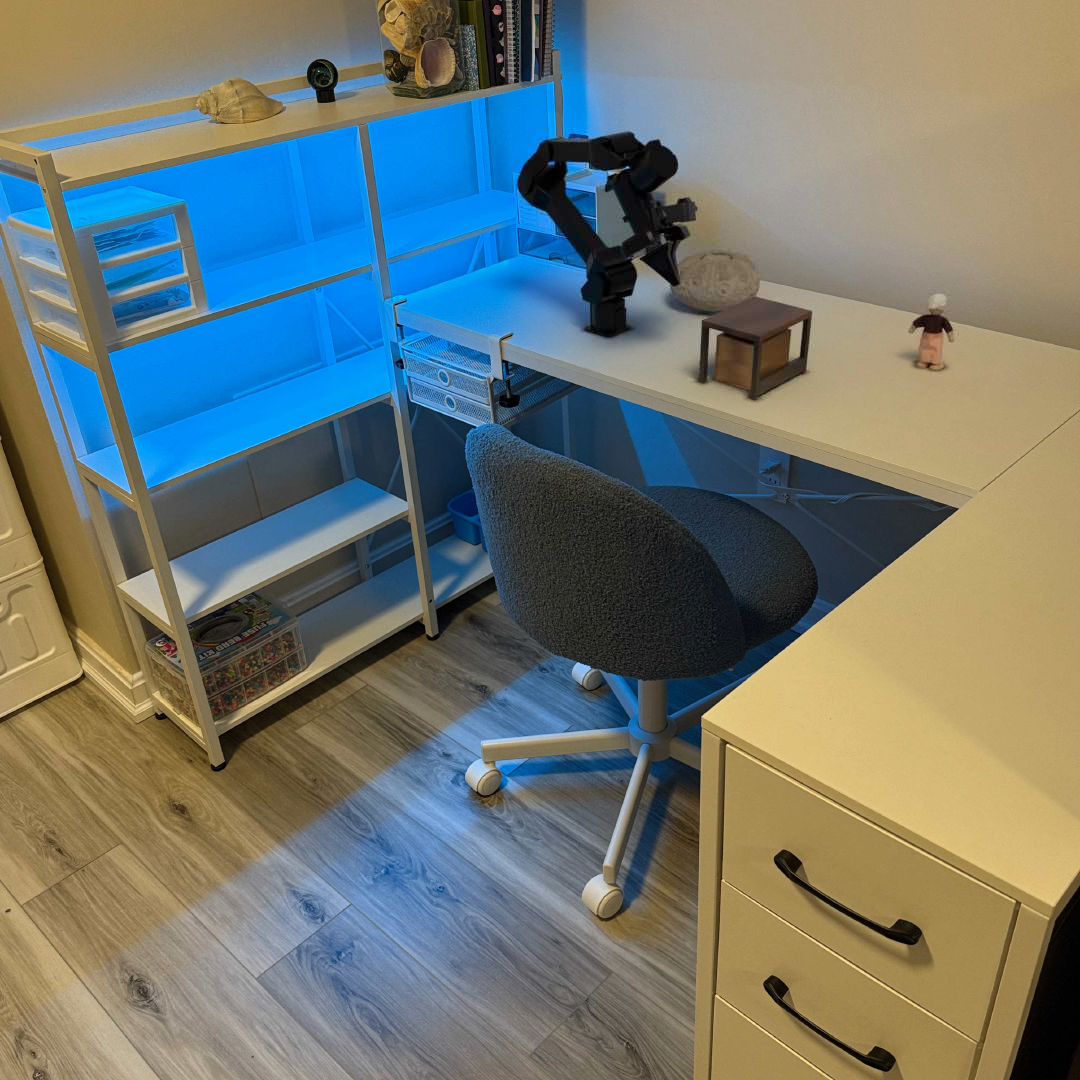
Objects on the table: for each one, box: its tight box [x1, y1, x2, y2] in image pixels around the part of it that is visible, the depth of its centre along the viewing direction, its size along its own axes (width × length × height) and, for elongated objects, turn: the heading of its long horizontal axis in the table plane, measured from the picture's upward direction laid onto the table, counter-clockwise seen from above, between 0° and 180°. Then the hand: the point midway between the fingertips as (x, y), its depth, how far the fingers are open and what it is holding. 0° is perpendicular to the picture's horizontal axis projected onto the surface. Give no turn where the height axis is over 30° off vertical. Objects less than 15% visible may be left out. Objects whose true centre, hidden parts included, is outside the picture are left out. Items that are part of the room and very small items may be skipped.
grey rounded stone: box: [669, 249, 761, 313], centre depth 207 cm, size 18×18×10 cm
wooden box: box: [714, 328, 792, 392], centre depth 177 cm, size 8×10×8 cm
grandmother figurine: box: [907, 293, 956, 371], centre depth 177 cm, size 8×4×13 cm, turn 65°
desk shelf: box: [698, 295, 813, 401], centre depth 176 cm, size 12×15×11 cm
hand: (677, 285), depth 183 cm, fingers closed
